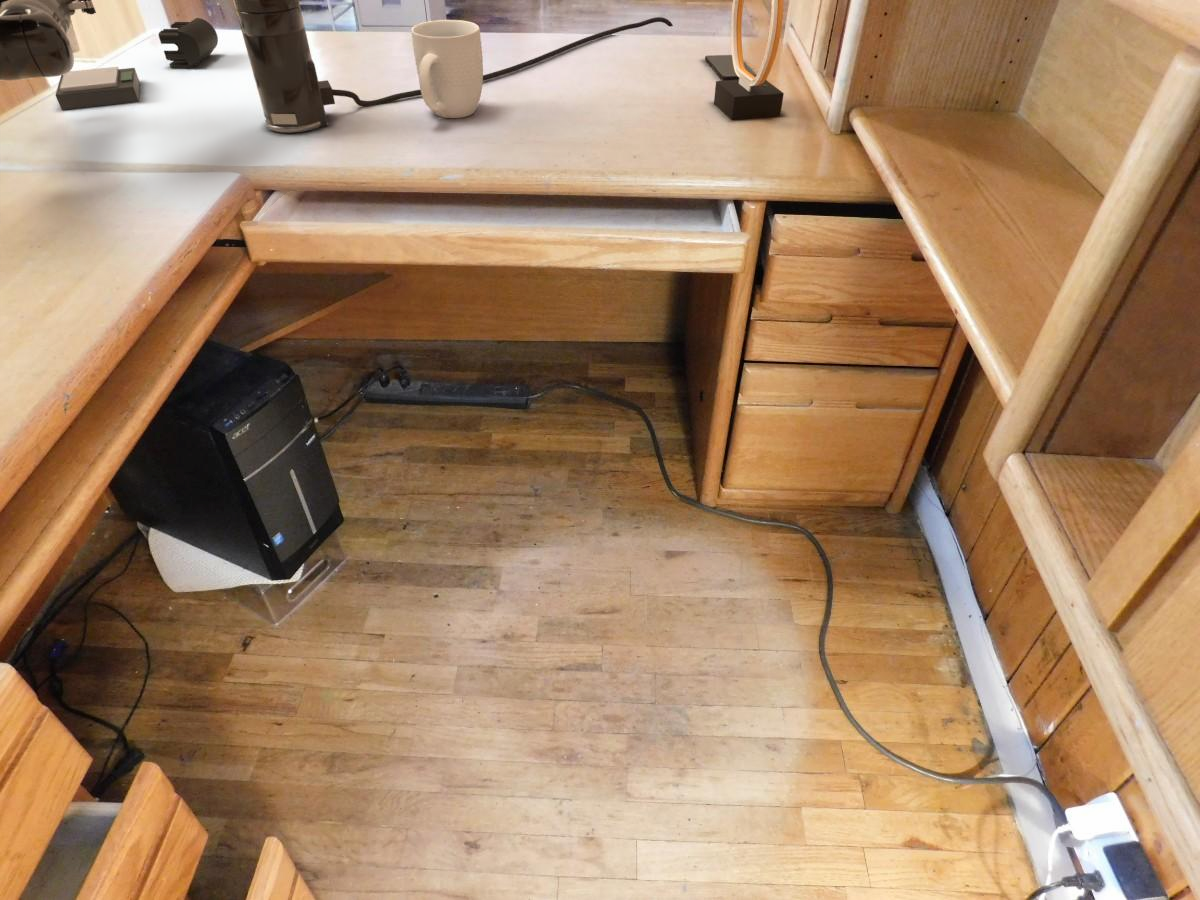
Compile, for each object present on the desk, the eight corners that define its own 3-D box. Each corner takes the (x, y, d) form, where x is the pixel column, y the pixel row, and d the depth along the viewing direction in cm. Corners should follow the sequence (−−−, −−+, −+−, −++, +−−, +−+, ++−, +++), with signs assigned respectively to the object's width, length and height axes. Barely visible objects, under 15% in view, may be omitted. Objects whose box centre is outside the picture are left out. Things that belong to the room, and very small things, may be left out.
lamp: (789, 124, 129) (828, -108, 108) (740, 128, 127) (770, -107, 106) (751, 93, 141) (779, -122, 120) (706, 96, 139) (726, -120, 118)
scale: (139, 82, 143) (133, 63, 141) (138, 101, 135) (131, 82, 133) (67, 89, 140) (59, 70, 138) (61, 110, 132) (53, 90, 130)
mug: (460, 134, 124) (450, 46, 116) (399, 127, 127) (385, 39, 118) (497, 105, 135) (490, 22, 126) (440, 98, 137) (430, 17, 129)
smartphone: (737, 54, 157) (758, 75, 145) (736, 59, 157) (757, 80, 146) (704, 55, 156) (722, 76, 145) (703, 60, 156) (722, 81, 145)
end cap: (205, 69, 150) (193, 30, 145) (168, 69, 150) (155, 30, 145) (223, 54, 157) (212, 17, 153) (188, 54, 157) (176, 17, 152)
